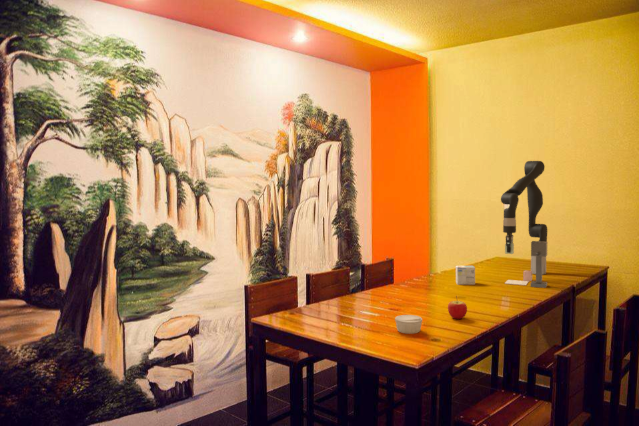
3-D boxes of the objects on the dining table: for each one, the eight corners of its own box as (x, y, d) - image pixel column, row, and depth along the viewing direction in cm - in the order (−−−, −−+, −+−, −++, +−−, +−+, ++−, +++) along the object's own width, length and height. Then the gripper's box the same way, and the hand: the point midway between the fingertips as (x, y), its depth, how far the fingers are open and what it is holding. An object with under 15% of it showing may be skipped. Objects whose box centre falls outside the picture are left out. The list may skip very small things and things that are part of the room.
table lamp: (532, 284, 300) (532, 240, 298) (547, 285, 296) (547, 241, 294) (530, 287, 291) (530, 242, 290) (545, 288, 287) (545, 243, 286)
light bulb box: (473, 282, 307) (473, 265, 307) (475, 284, 301) (475, 267, 300) (455, 282, 308) (455, 265, 308) (457, 284, 302) (457, 267, 301)
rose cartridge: (524, 279, 314) (524, 270, 314) (532, 280, 312) (532, 270, 312) (523, 281, 310) (523, 271, 310) (531, 281, 308) (531, 271, 308)
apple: (463, 315, 231) (463, 294, 230) (469, 320, 222) (469, 298, 222) (445, 316, 230) (445, 294, 230) (451, 321, 222) (451, 298, 221)
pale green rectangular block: (506, 252, 320) (506, 243, 319) (513, 253, 317) (513, 243, 317) (505, 253, 316) (505, 244, 315) (512, 253, 313) (512, 244, 313)
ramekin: (413, 336, 201) (413, 323, 200) (389, 331, 208) (389, 318, 208) (427, 330, 209) (427, 317, 209) (404, 325, 216) (404, 313, 216)
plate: (507, 280, 313) (507, 279, 313) (528, 281, 307) (528, 281, 307) (504, 283, 303) (504, 283, 303) (525, 285, 297) (525, 284, 297)
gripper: (514, 226, 307) (513, 253, 308) (517, 224, 320) (517, 250, 321) (501, 225, 311) (501, 253, 312) (505, 224, 324) (505, 250, 325)
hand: (509, 251), depth 316 cm, fingers closed on pale green rectangular block, 4 cm apart
